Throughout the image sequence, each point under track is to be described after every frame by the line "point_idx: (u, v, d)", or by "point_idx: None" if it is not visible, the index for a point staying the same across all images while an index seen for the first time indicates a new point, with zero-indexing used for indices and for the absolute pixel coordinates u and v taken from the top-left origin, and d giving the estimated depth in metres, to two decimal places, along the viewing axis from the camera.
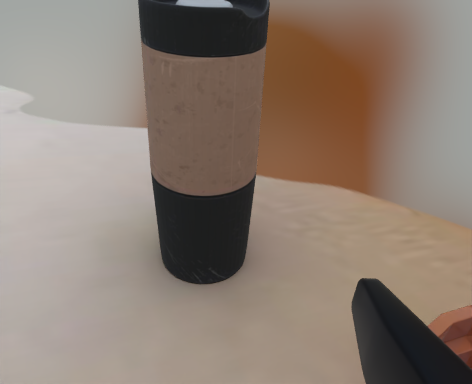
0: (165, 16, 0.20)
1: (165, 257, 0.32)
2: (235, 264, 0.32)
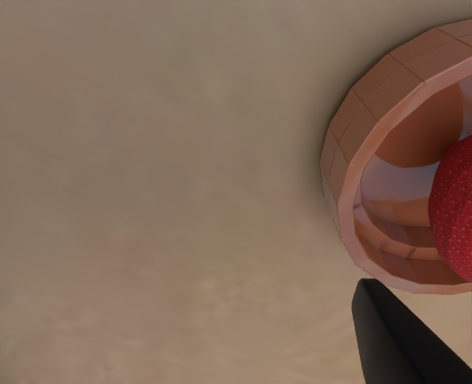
0: None
1: None
2: None
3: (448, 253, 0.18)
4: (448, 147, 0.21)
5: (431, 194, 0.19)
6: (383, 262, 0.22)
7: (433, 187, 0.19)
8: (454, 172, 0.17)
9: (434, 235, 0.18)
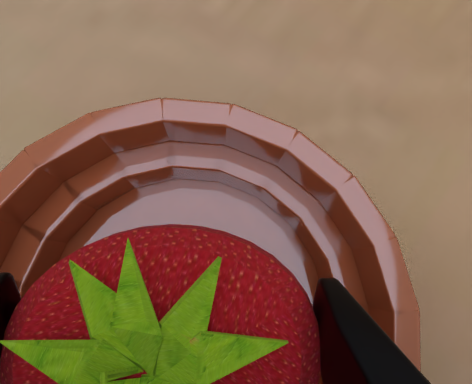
0: None
1: None
2: None
3: None
4: None
5: None
6: None
7: None
8: None
9: None
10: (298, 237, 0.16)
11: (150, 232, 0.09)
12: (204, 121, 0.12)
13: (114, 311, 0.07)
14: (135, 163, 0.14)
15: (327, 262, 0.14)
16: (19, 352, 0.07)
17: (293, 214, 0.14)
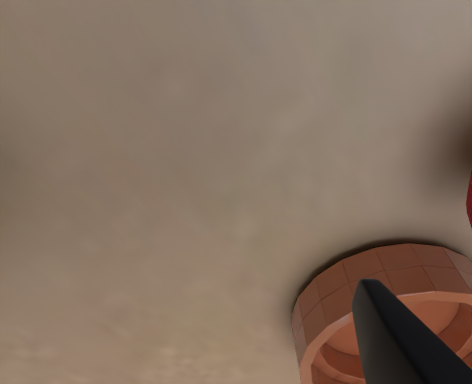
0: None
1: None
2: None
3: None
4: None
5: (471, 186, 0.19)
6: (319, 383, 0.29)
7: None
8: None
9: None
10: None
11: None
12: None
13: None
14: None
15: None
16: None
17: None
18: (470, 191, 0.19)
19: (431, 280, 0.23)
